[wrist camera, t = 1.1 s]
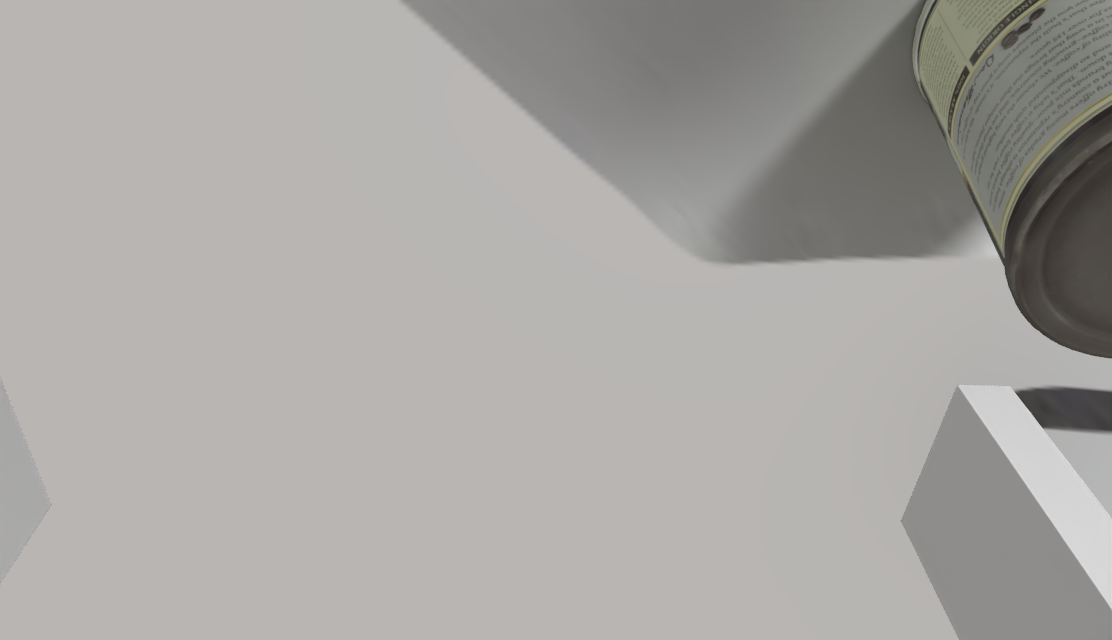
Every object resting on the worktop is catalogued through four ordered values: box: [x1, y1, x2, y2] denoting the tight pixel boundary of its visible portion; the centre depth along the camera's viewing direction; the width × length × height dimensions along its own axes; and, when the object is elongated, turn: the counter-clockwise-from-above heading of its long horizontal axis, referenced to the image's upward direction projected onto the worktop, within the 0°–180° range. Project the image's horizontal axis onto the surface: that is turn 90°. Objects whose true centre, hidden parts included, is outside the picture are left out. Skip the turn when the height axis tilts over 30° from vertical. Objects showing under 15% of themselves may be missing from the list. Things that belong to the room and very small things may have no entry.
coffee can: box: [913, 0, 1112, 358], centre depth 29 cm, size 10×10×14 cm
